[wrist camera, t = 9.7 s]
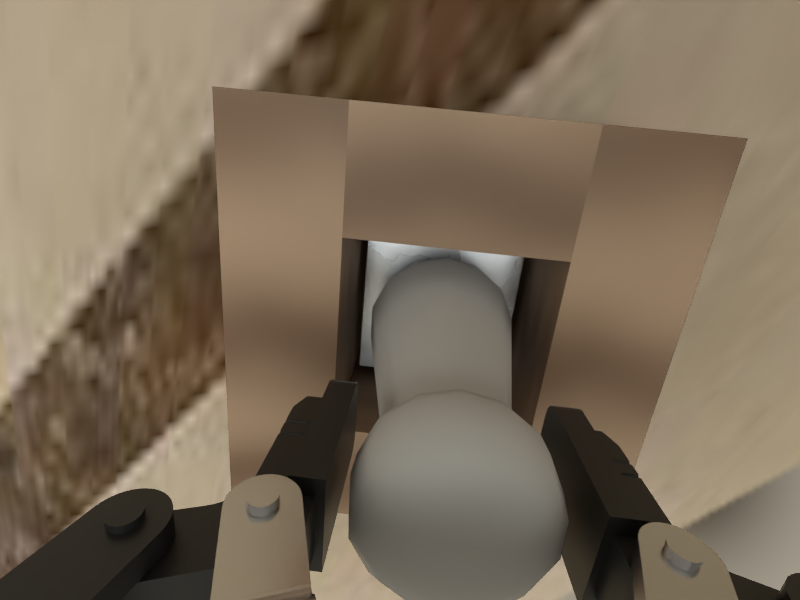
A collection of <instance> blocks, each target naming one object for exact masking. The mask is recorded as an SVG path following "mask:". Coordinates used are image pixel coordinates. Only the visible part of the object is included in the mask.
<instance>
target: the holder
mask: <svg viewBox="0 0 800 600" xmlns="http://www.w3.org/2000/svg"><path fill="white" fill-rule="evenodd" d="M212 90H213V111H214V132H215V154H216V175H217V196H218V217H219V238H220V260H221V281H222V302H223V323H224V345H225V366H226V387H227V408H228V430H229V451H230V472H231V490H232V489H233V488H234V487H235V486H237V485H238V484H239V483H241V482H243V481H245V480H247V479H249V478H252V477H255V476H256V474H257V472H258V470H259V469H260V467H261V465H262V463H263V461H264V459H265V458H266V456H267V454H268V452H269V450H270V448H271V447H272V445H273V443H274V441H275V439H276V437H277V436H278V434H280V430H281V428H282V426H283V425H284V423H285V422H286V419H287V417H288V415H289V413H290V412H291V410H292V408H293V406H294V405H296V404H297V403H299V402H300V401H301V400H303V399H304V398H305V397H307V396H313V397H321V398H322V397H323V394H324V392H325V390H326V388H327V385H328V383H329V381H330V380H331V379H332V380H341V381H349V382H358V402H357V416H356V430H355V440H354V447H353V452H352V457H351V461H350V465H349V469H348V472H347V476H346V480H345V484H344V488H343V492H342V496H341V500H340V504H339V507H338V511H337V513H344V514H349V495H350V473H351V470H352V467H353V464H354V461H355V458H356V455H357V452H358V450H359V449H360V447H361V446H362V444H363V442H364V441H365V439H366V438H367V436H368V434H369V433H370V431H371V430H372V428H373V426H374V425H375V423H376V421H377V420H378V419H379V418H380V417H379V408H378V399H377V389H376V380H375V371H374V367H369V366H360V352H361V338H362V324H363V310H364V296H365V282H366V268H367V254H368V241H377V242H387V243H396V244H406V245H415V246H424V247H434V248H443V249H452V250H462V251H471V252H480V253H490V254H499V255H509V256H518V257H524V259H523V264H522V269H521V274H520V279H519V285H518V290H517V295H516V300H515V305H514V310H513V315H512V320H511V323H512V410H513V411H514V412H515V413H516V414H517V415H519V416H520V417H521V418H522V419H523V420H525V421H526V422H527V423H528V424H529V425H531V426H532V427H533V428H534V429H535V430H536V431H537V432H539V433H540V434H541V431H542V427H543V423H544V419H545V415H546V411H547V409H548V407H549V406H559V407H568V408H576V409H581V410H582V411H583V412H584V414H585V416H586V417H587V419H588V421H589V422H590V424H591V425H592V427H593V429H594V430H595V431H602V432H603V433H604V434H606V435H607V436H608V437H609V438H610V439H612V440H613V441H614V442H615V443H616V444H618V445H619V446H620V448H621V449H622V451H623V452H624V454H625V455H626V457H627V458H628V460H629V461H630V462H629V464H630V465H632V466H633V467H634V468H635V465H636V462H637V459H638V456H639V453H640V450H641V447H642V444H643V441H644V438H645V436H646V433H647V430H648V427H649V424H650V421H651V418H652V415H653V412H654V409H655V406H656V404H657V401H658V398H659V395H660V392H661V389H662V386H663V383H664V380H665V377H666V374H667V372H668V369H669V366H670V363H671V360H672V357H673V354H674V351H675V348H676V345H677V342H678V340H679V337H680V334H681V331H682V328H683V325H684V322H685V319H686V316H687V313H688V310H689V308H690V305H691V302H692V299H693V296H694V293H695V290H696V287H697V284H698V281H699V278H700V276H701V273H702V270H703V267H704V264H705V261H706V258H707V255H708V252H709V249H710V246H711V244H712V241H713V238H714V235H715V232H716V229H717V226H718V223H719V220H720V217H721V214H722V212H723V209H724V206H725V203H726V200H727V197H728V194H729V191H730V188H731V185H732V183H733V180H734V177H735V174H736V171H737V168H738V165H739V162H740V159H741V156H742V153H743V151H744V148H745V145H746V142H747V139H748V138H738V137H727V136H717V135H707V134H697V133H686V132H676V131H666V130H655V129H645V128H635V127H625V126H614V125H604V124H594V123H583V122H573V121H563V120H552V119H542V118H532V117H522V116H511V115H501V114H491V113H480V112H470V111H460V110H450V109H439V108H429V107H419V106H408V105H398V104H388V103H378V102H367V101H357V100H347V99H336V98H326V97H316V96H305V95H295V94H285V93H275V92H264V91H254V90H244V89H233V88H223V87H213V86H212Z"/></svg>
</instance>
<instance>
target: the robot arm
mask: <svg viewBox="0 0 800 600" xmlns="http://www.w3.org/2000/svg"><path fill="white" fill-rule="evenodd" d="M357 402H358V382H349V381H341V380H332V379H331V380H330V381H329V383H328V385H327V388H326V390H325V392H324V394H323V397H322V398H321V397H313V396H307V397H305V398H304V399H303V400H301V401H300V402H299V403H297V404H296V405H294V406H293V408H292V410H291V412H290V413H289V415H288V417H287V419H286V422H285V423H284V425H283V426H282V428H281V430H280V434H278V436H277V437H276V439H275V441H274V443H273V445H272V447H271V448H270V450H269V452H268V454H267V456H266V458H265V459H264V461H263V463H262V465H261V467H260V469H259V470H258V472H257V474H256V476H255V477H252V478H249V479H247V480H245V481H243V482H241V483H239V484H238V485H237V486H235V487H234V488H233V489H232V490H231V491H230V492H229V493H228V495H227V496H226V498H225V500H224V501H223V502H220V503H217V504H213V505H207V506H201V507H193V508H186V509H179V510H173V504H172V501H171V499H170V498H169V496H168V495H166V494H165V493H164V492H161V491H159V490H155V489H148V488H147V489H134V490H130V491H125V492H122V493H119V494H117V495H114V496H112V497H110V498H108V499H106V500H104V501H103V502H101V503H99V504H98V505H96V506H95V507H94V508H92V509H91V510H90V511H88V512H87V513H86V514H84V515H83V516H82V517H81V518H79V519H78V520H77V521H75V522H74V523H73V524H71V525H70V526H69V527H68V528H66V529H65V530H64V531H62V532H61V533H60V534H58V535H57V536H56V537H55V538H53V539H52V540H51V541H49V542H48V543H47V544H45V545H44V546H43V547H42V548H40V549H39V550H38V551H36V552H35V553H34V554H32V555H31V556H30V557H28V558H27V559H26V560H25V561H23V562H22V563H21V564H19V565H18V566H17V567H15V568H14V569H13V570H12V571H10V572H9V573H8V574H6V575H5V576H4V577H2V578H1V579H0V600H316V598H315V594H312V591H311V582H310V571H318V572H322V570H323V566H324V562H325V558H326V554H327V550H328V546H329V543H330V539H331V535H332V531H333V527H334V523H335V519H336V515H337V511H338V507H339V504H340V500H341V496H342V492H343V488H344V484H345V480H346V476H347V472H348V469H349V465H350V461H351V457H352V452H353V447H354V440H355V430H356V416H357ZM541 436H542V438H543V440H544V442H545V444H546V446H547V448H548V450H549V452H550V454H551V457H552V460H553V463H554V466H555V469H556V472H557V474H558V477H559V480H560V483H561V486H562V489H563V492H564V496H565V502H566V508H567V514H568V519H569V523H568V527H567V532H566V536H565V540H564V545H563V549H562V553H561V554H562V557H563V560H564V563H565V566H566V569H567V572H568V575H569V578H570V581H571V584H572V587H573V590H574V592H575V595H576V598H577V600H800V573H795V574H792V575H790V576H788V577H787V579H786V581H785V583H784V585H783V586H782V588H781V590H780V591H778V590H776V589H773V588H771V587H768V586H765V585H763V584H760V583H757V582H755V581H752V580H749V579H747V578H744V577H741V576H739V575H736V574H733V573H731V572H729V571H728V569H727V567H726V565H725V564H724V562H723V561H722V559H721V558H720V557H719V556H718V555H717V553H716V552H714V550H713V549H712V548H711V547H709V546H708V545H707V544H706V543H704V542H703V541H702V540H701V539H699V538H698V537H696V536H695V535H693V534H691V533H690V532H688V531H686V530H684V529H681V528H679V527H677V526H674V525H672V524H671V523H670V521H669V520H668V518H667V517H666V515H665V514H664V512H663V511H662V509H661V508H660V506H659V505H658V503H657V502H656V500H655V499H654V497H653V496H652V494H651V493H650V491H649V490H648V488H647V487H646V485H645V484H644V482H643V481H642V479H641V478H638V473H637V472H636V470H635V469H634V467H633V466H632V465H630V464H629V462H630V461H629V460H628V458H627V457H626V455H625V454H624V452H623V451H622V449H621V448H620V446H619V445H618V444H616V443H615V442H614V441H613V440H612V439H610V438H609V437H608V436H607V435H606V434H604V433H603V432H602V431H595V430H594V429H593V427H592V425H591V424H590V422H589V421H588V419H587V417H586V416H585V414H584V412H583V411H582V410H581V409H576V408H568V407H559V406H549V407H548V409H547V411H546V415H545V419H544V423H543V427H542V431H541ZM309 570H310V571H309Z"/></svg>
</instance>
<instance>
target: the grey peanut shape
mask: <svg viewBox="0 0 800 600" xmlns="http://www.w3.org/2000/svg"><path fill="white" fill-rule="evenodd" d="M371 343H372V353H373V362H374V371H375V380H376V389H377V399H378V408H379V417H380V418H379V419H378V420H377V421H376V423H375V425H374V426H373V428H372V430H371V431H370V433H369V434H368V436H367V438H366V439H365V441H364V442H363V444H362V446H361V447H360V449H359V450H358V452H357V455H356V458H355V461H354V464H353V467H352V470H351V473H350V495H349V540H350V541H351V543H352V545H353V547H354V548H355V550H356V552H357V553H358V555H359V557H360V558H361V560H362V562H363V564H364V565H365V567H366V569H367V570H368V572H369V573H371V574H372V575H373V576H374V577H375V578H376V579H377V580H379V581H380V582H381V583H382V584H384V585H385V586H387V587H388V588H389V589H391V590H392V591H393V592H395V593H396V594H398V595H399V596H400V597H402V598H403V599H405V600H516V599H519V598H521V597H523V596H524V595H525V594H526V593H527V592H528V591H529V590H530V589H531V588H532V587H533V586H534V585H535V584H536V583H537V582H538V581H539V580H540V579H541V578H542V577H543V576H544V575H545V574H546V573H547V572H548V571H549V570H550V569H551V568H552V567H553V566H554V565H555V564H556V563H557V562H558V561H559V560H560V558H561V553H562V549H563V545H564V540H565V536H566V532H567V527H568V523H569V519H568V514H567V508H566V502H565V496H564V492H563V489H562V486H561V483H560V480H559V477H558V474H557V472H556V469H555V466H554V463H553V460H552V457H551V454H550V452H549V450H548V448H547V446H546V444H545V442H544V440H543V438H542V436H541V434H540V433H539V432H537V431H536V430H535V429H534V428H533V427H532V426H531V425H529V424H528V423H527V422H526V421H525V420H523V419H522V418H521V417H520V416H519V415H517V414H516V413H515V412H514V411H513V410H512V323H511V315H510V312H509V309H508V306H507V303H506V301H505V298H504V295H503V292H502V289H500V288H499V287H498V286H497V285H496V284H495V283H494V282H493V281H492V280H491V279H490V278H488V277H487V276H486V275H485V274H484V273H483V272H482V271H481V270H480V269H479V268H477V267H476V266H473V265H470V264H467V263H463V262H460V261H457V260H453V259H450V258H447V257H444V258H437V259H431V260H424V261H417V262H414V263H413V264H411V265H410V266H408V267H407V268H405V269H404V270H402V271H401V272H399V273H398V274H396V275H395V276H393V277H392V278H390V279H389V280H388V281H387V282H386V284H385V286H384V288H383V289H382V291H381V293H380V295H379V296H378V298H377V300H376V302H375V304H374V305H373V307H372V323H371Z"/></svg>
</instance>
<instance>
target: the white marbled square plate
mask: <svg viewBox="0 0 800 600" xmlns="http://www.w3.org/2000/svg"><path fill="white" fill-rule="evenodd" d="M444 257H447V258H450V259H453V260H457V261H460V262H463V263H467V264H470V265H473V266H476V267H477V268H479V269H480V270H481V271H482V272H483V273H484V274H485V275H486V276H487V277H488V278H490V279H491V280H492V281H493V282H494V283H495V284H496V285H497V286H498V287H499V288H500V289H502V292H503V295H504V298H505V301H506V303H507V306H508V309H509V312H510V315H511V320H512V315H513V310H514V305H515V300H516V295H517V290H518V285H519V279H520V274H521V269H522V264H523V259H524V257H518V256H509V255H499V254H490V253H480V252H471V251H462V250H452V249H443V248H434V247H424V246H415V245H406V244H396V243H387V242H377V241H368V254H367V268H366V282H365V296H364V310H363V324H362V338H361V352H360V366H369V367H374V362H373V353H372V343H371V323H372V307H373V305H374V304H375V302H376V300H377V298H378V296H379V295H380V293H381V291H382V289H383V288H384V286H385V284H386V282H387V281H388V280H389V279H390V278H392V277H393V276H395V275H396V274H398V273H399V272H401V271H402V270H404V269H405V268H407V267H408V266H410V265H411V264H413V263H414V262H417V261H424V260H431V259H437V258H444Z"/></svg>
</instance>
